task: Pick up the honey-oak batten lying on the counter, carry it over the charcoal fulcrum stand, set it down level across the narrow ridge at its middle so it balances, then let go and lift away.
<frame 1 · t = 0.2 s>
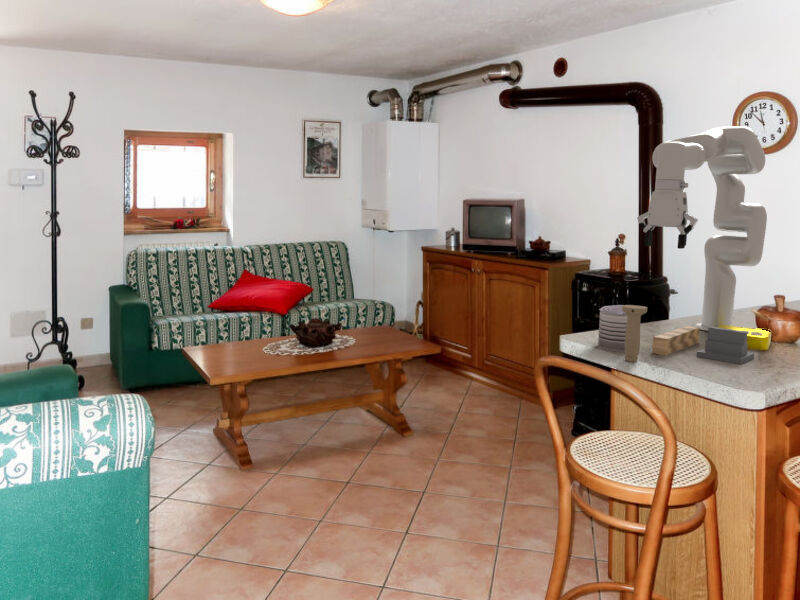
hand: (664, 247, 205), 30 cm above the worktop, tool pointing down, fingers open, 9 cm apart
handle: (631, 361, 195), on the worktop
oak batten: (676, 348, 212), on the worktop
can: (617, 348, 212), on the worktop
fulcrum stand: (725, 357, 200), on the worktop
element tile: (741, 345, 220), on the worktop
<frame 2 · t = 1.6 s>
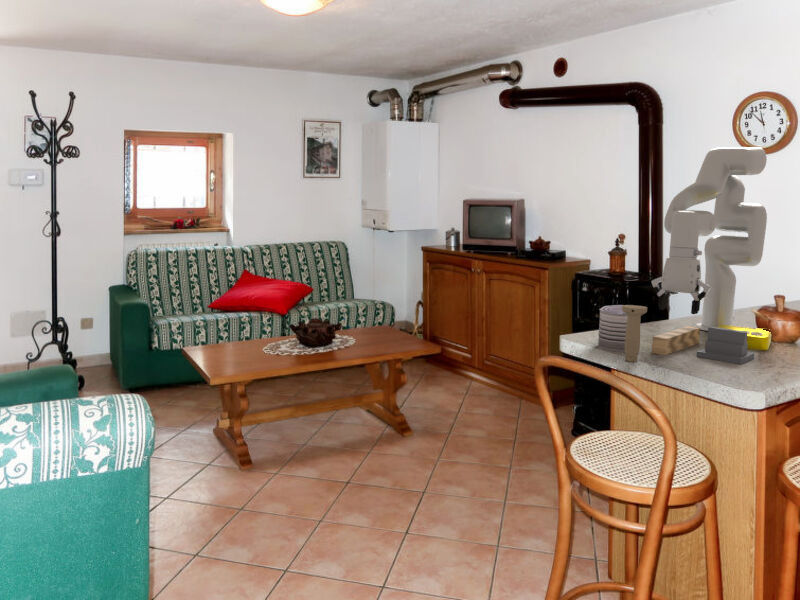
hand: (678, 311, 210), 11 cm above the worktop, tool pointing down, fingers open, 9 cm apart
nothing on the worktop moved.
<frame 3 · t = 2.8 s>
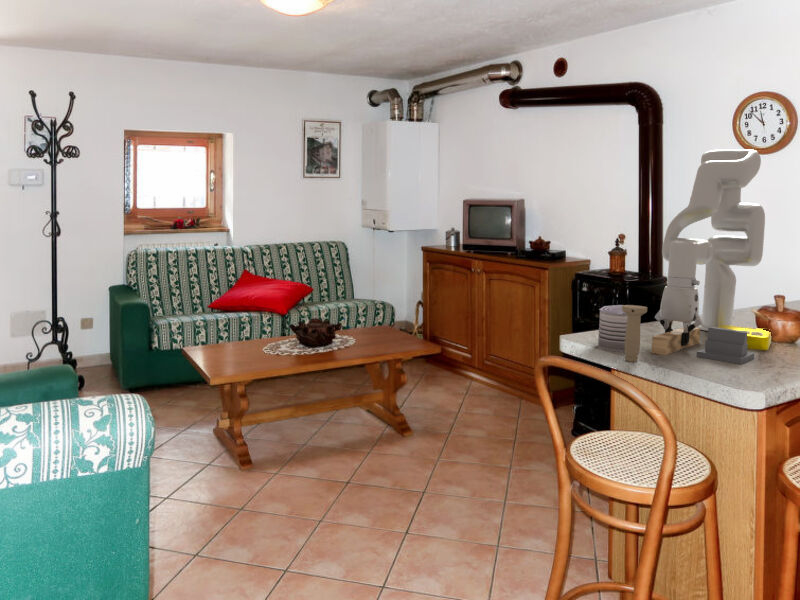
hand: (676, 343, 212), 1 cm above the worktop, tool pointing down, fingers closed on oak batten, 4 cm apart
oak batten: (676, 348, 212), on the worktop, touching gripper
everything else where it was.
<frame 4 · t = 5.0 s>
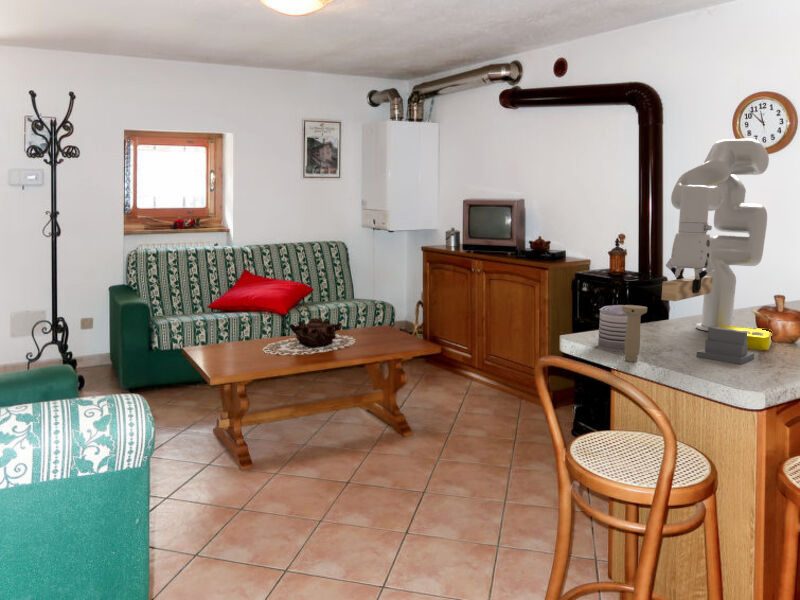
hand: (687, 291, 208), 17 cm above the worktop, tool pointing down, fingers closed on oak batten, 4 cm apart
oak batten: (687, 296, 208), point 16 cm above the worktop, touching gripper
everything else where it was.
when the fingers open (10 cm above the worktop, at t = 7.1 s): oak batten stays where it is, resting on fulcrum stand.
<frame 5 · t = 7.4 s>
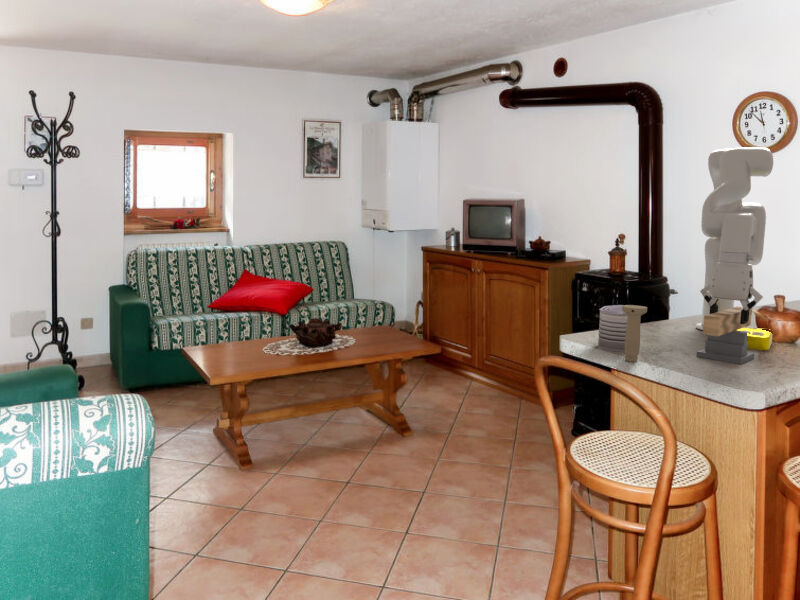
hand: (728, 321, 199), 10 cm above the worktop, tool pointing down, fingers open, 7 cm apart
oak batten: (727, 329, 199), point 8 cm above the worktop, touching fulcrum stand
everything else where it was.
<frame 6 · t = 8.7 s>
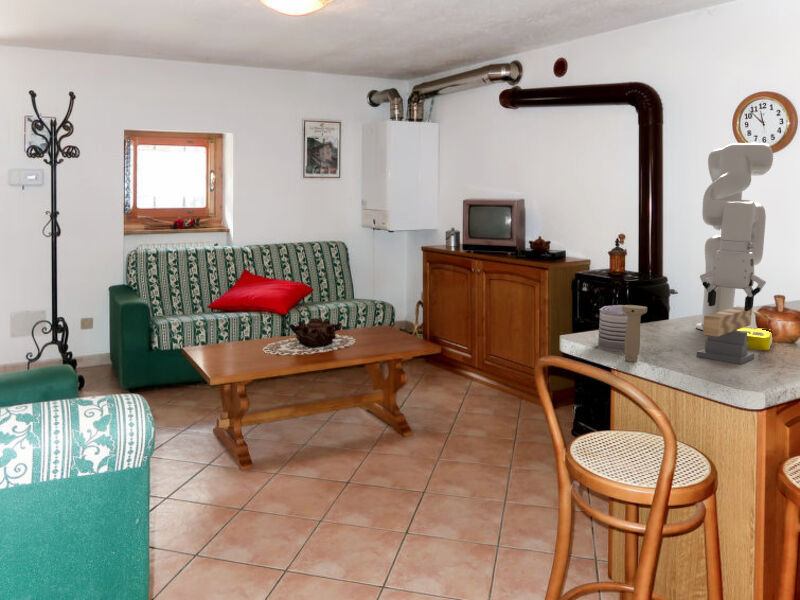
hand: (729, 308, 199), 14 cm above the worktop, tool pointing down, fingers open, 9 cm apart
nothing on the worktop moved.
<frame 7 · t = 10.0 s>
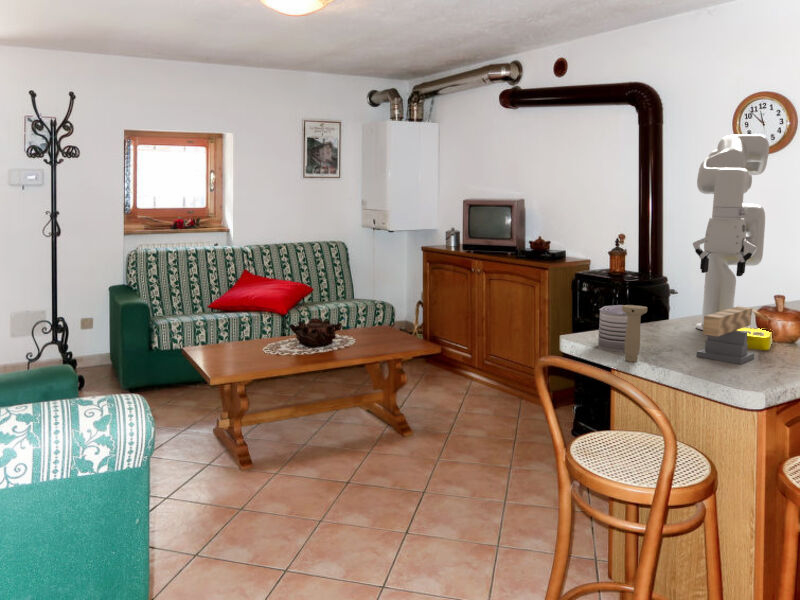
hand: (721, 274, 202), 23 cm above the worktop, tool pointing down, fingers open, 9 cm apart
nothing on the worktop moved.
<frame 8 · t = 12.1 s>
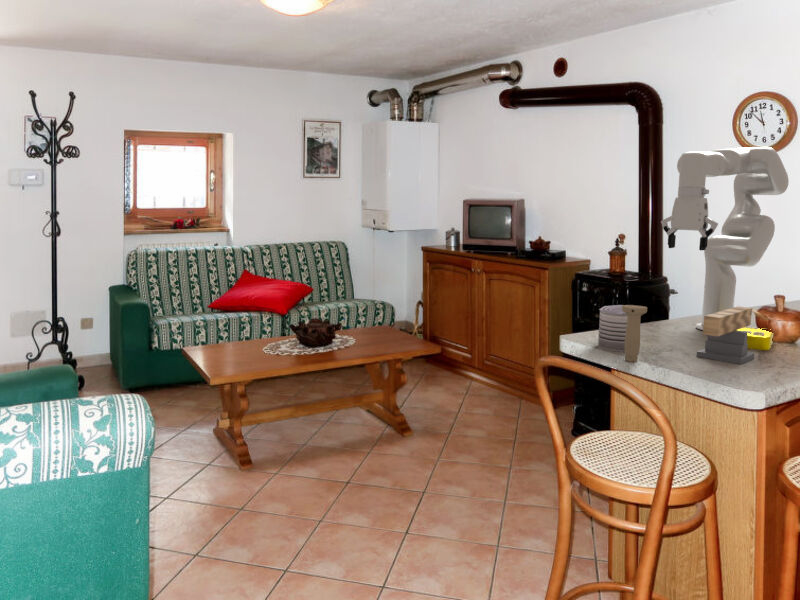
hand: (686, 248, 221), 28 cm above the worktop, tool pointing down, fingers open, 9 cm apart
nothing on the worktop moved.
at the end: oak batten inside the target area on the fulcrum stand (0.1 cm from its centre), point 8.0 cm above the fulcrum stand's base; oak batten tilted 0°; the gripper is holding nothing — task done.
